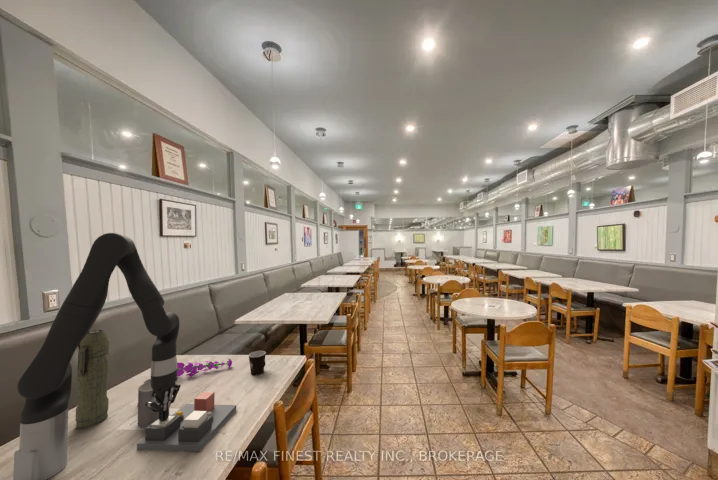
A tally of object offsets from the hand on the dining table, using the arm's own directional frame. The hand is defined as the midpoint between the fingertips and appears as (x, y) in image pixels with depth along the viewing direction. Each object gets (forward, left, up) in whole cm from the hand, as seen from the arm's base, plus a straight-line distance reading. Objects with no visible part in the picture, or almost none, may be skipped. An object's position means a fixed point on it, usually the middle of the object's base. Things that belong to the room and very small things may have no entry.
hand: (163, 419), depth 90 cm
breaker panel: (+6, -6, -7) cm, 11 cm away
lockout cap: (+13, -6, -5) cm, 15 cm away
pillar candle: (+10, +13, -7) cm, 18 cm away
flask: (+20, +25, -7) cm, 33 cm away
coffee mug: (+48, -11, -7) cm, 50 cm away
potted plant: (+47, +23, -7) cm, 53 cm away
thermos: (+8, +37, -7) cm, 38 cm away
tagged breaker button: (0, 0, -4) cm, 4 cm away
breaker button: (0, -12, -2) cm, 12 cm away
